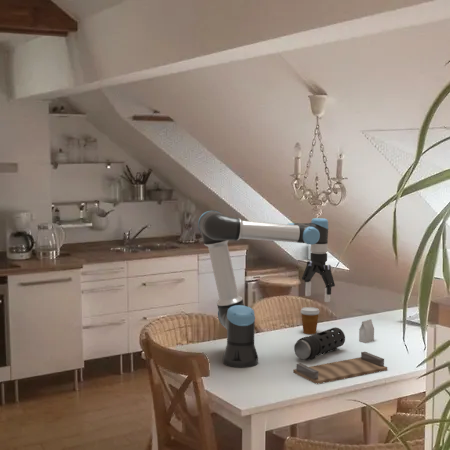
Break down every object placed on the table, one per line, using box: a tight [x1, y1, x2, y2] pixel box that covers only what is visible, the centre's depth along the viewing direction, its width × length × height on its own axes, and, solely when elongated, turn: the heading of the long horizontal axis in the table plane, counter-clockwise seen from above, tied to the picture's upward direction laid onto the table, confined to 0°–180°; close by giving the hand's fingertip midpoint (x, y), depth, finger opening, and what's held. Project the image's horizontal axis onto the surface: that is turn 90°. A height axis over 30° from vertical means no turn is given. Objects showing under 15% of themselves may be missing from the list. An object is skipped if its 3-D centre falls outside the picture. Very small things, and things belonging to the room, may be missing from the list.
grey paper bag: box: [358, 319, 375, 344], centre depth 327 cm, size 4×7×10 cm, turn 133°
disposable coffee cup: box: [300, 306, 320, 335], centre depth 341 cm, size 10×10×12 cm
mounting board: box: [292, 351, 388, 385], centre depth 281 cm, size 36×16×4 cm, turn 119°
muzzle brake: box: [293, 327, 346, 361], centre depth 303 cm, size 10×28×10 cm, turn 139°
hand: (317, 298), depth 312 cm, fingers open, 13 cm apart
